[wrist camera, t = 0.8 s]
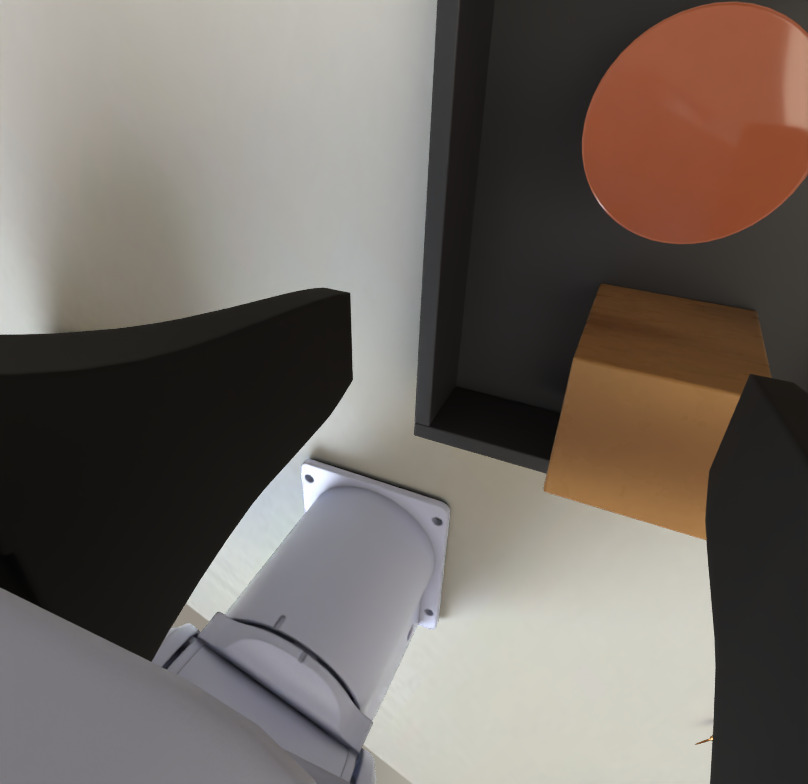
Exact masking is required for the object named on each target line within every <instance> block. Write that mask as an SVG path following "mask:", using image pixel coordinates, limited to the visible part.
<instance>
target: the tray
mask: <svg viewBox="0 0 808 784" xmlns="http://www.w3.org/2000/svg"><path fill="white" fill-rule="evenodd" d="M731 1H737V2H747V3H755V4H758V5H762V6H766V7H770V8H772V9H774V10H776V11H779V12H781V13H783V14H785V15H787V16H788V17H790V18H791V19H793V20H794V21H796V22H797V23H798V24H800V25H801V26H802V27H803V28H804V29H805V30H806V31H807V32H808V0H438V1H437V20H436V38H435V57H434V75H433V94H432V112H431V131H430V149H429V167H428V186H427V204H426V223H425V241H424V260H423V278H422V297H421V315H420V334H419V352H418V371H417V389H416V407H415V427H414V435H415V436H419V437H422V438H426V439H429V440H432V441H436V442H439V443H443V444H446V445H450V446H453V447H457V448H460V449H463V450H467V451H470V452H474V453H477V454H481V455H484V456H488V457H491V458H495V459H498V460H501V461H505V462H508V463H512V464H515V465H519V466H522V467H526V468H529V469H533V470H536V471H539V472H543V473H546V474H547V470H548V465H549V461H550V457H551V452H552V448H553V444H554V439H555V435H556V431H557V426H558V422H559V417H560V413H561V409H562V404H563V400H564V396H565V391H566V387H567V383H568V378H569V374H570V369H571V365H572V361H573V357H574V355H575V352H576V349H577V346H578V344H579V341H580V338H581V335H582V333H583V330H584V327H585V324H586V322H587V319H588V316H589V313H590V310H591V308H592V305H593V302H594V299H595V297H596V294H597V291H598V288H599V286H600V284H608V285H613V286H619V287H625V288H630V289H636V290H641V291H647V292H652V293H658V294H663V295H669V296H675V297H680V298H686V299H691V300H697V301H702V302H708V303H713V304H719V305H724V306H730V307H736V308H741V309H747V310H752V311H756V312H757V313H758V317H759V322H760V327H761V331H762V336H763V340H764V345H765V350H766V354H767V359H768V363H769V368H770V373H771V377H772V378H774V379H779V380H784V381H789V382H793V383H795V384H796V385H798V386H799V387H800V388H802V389H803V390H804V391H805V392H807V393H808V175H807V177H806V178H805V180H804V181H803V182H802V183H801V185H800V186H799V187H798V188H797V189H796V191H795V192H794V193H793V194H792V195H791V196H790V197H789V198H788V199H787V200H786V201H785V202H784V203H783V204H782V205H781V206H779V207H778V208H777V209H776V210H774V211H773V212H772V213H771V214H769V215H768V216H767V217H765V218H763V219H762V220H760V221H759V222H757V223H756V224H754V225H752V226H750V227H748V228H746V229H744V230H742V231H740V232H738V233H735V234H733V235H730V236H727V237H725V238H721V239H717V240H714V241H710V242H704V243H697V244H669V243H662V242H657V241H653V240H649V239H646V238H644V237H641V236H638V235H636V234H634V233H632V232H630V231H628V230H626V229H625V228H624V227H622V226H621V225H619V224H618V223H616V222H615V221H614V220H613V219H612V218H611V217H610V216H609V215H608V214H607V213H606V212H605V211H604V209H603V208H602V207H601V206H600V205H599V203H598V202H597V200H596V198H595V196H594V195H593V193H592V191H591V189H590V186H589V184H588V181H587V178H586V175H585V171H584V167H583V159H582V134H583V127H584V122H585V118H586V114H587V110H588V107H589V104H590V102H591V99H592V96H593V94H594V92H595V90H596V88H597V86H598V84H599V82H600V80H601V79H602V77H603V76H604V74H605V73H606V71H607V70H608V68H609V67H610V65H611V64H612V63H613V62H614V60H615V59H616V58H617V57H618V56H619V54H620V53H621V52H622V51H623V50H624V49H625V48H626V47H627V46H628V45H629V44H630V43H631V42H632V41H634V40H635V39H636V38H637V37H638V36H640V35H641V34H642V33H644V32H645V31H646V30H648V29H649V28H650V27H652V26H654V25H655V24H657V23H659V22H660V21H662V20H664V19H665V18H667V17H670V16H672V15H674V14H676V13H678V12H681V11H683V10H686V9H690V8H693V7H696V6H699V5H704V4H710V3H715V2H731Z"/></svg>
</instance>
